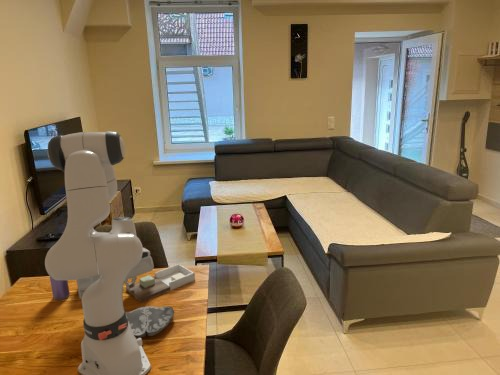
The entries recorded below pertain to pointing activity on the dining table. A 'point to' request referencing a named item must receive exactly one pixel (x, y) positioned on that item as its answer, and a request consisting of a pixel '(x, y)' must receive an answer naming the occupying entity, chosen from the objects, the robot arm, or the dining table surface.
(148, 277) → the sage tile
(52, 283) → the beverage can
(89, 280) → the supplement box
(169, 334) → the dining table surface
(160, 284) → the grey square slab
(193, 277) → the grey tray
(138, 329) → the brain slice
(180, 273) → the cream tile
